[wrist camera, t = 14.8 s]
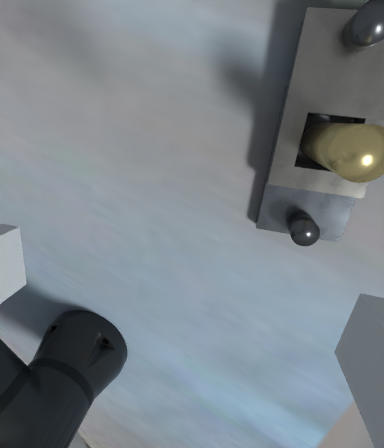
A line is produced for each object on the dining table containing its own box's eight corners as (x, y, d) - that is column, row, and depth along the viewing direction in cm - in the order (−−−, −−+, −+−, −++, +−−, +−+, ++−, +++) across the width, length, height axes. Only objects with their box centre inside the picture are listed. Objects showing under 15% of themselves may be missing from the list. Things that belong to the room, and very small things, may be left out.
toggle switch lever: (333, 161, 30) (383, 186, 19) (297, 157, 30) (326, 178, 19) (345, 124, 28) (407, 128, 17) (307, 120, 29) (343, 120, 18)
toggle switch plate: (335, 237, 33) (353, 260, 27) (255, 223, 34) (257, 243, 29) (411, 25, 24) (459, -1, 19) (300, 18, 26) (315, -9, 20)
